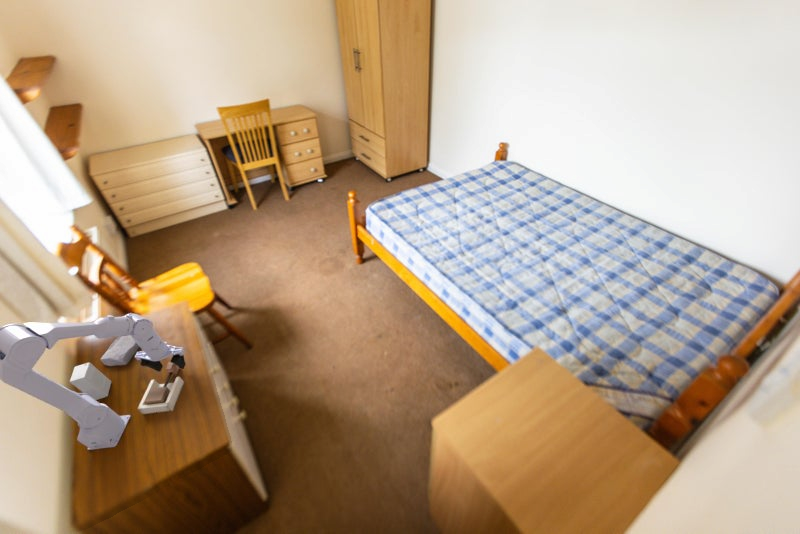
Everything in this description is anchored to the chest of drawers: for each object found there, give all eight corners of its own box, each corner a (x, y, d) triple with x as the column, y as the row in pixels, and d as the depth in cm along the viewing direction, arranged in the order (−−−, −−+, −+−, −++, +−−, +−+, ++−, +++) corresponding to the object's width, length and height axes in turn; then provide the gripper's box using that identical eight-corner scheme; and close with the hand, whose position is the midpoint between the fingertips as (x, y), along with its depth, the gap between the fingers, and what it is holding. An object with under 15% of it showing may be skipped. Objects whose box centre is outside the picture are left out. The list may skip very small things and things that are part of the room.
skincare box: (97, 386, 117) (74, 366, 109) (112, 381, 118) (90, 361, 110) (93, 401, 113) (68, 382, 105) (108, 396, 114) (84, 377, 106)
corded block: (167, 406, 110) (160, 400, 107) (151, 408, 110) (144, 401, 107) (184, 367, 121) (178, 360, 118) (169, 368, 121) (163, 361, 118)
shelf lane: (172, 410, 110) (167, 405, 107) (143, 414, 109) (137, 408, 107) (184, 382, 117) (179, 376, 115) (156, 385, 117) (151, 379, 114)
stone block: (104, 369, 124) (128, 365, 123) (94, 361, 121) (118, 357, 120) (125, 343, 134) (147, 339, 132) (116, 335, 131) (139, 331, 129)
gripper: (180, 331, 113) (197, 355, 122) (134, 336, 112) (155, 360, 121) (171, 349, 108) (190, 373, 117) (123, 354, 107) (146, 378, 116)
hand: (172, 367), depth 118 cm, fingers open, 7 cm apart
